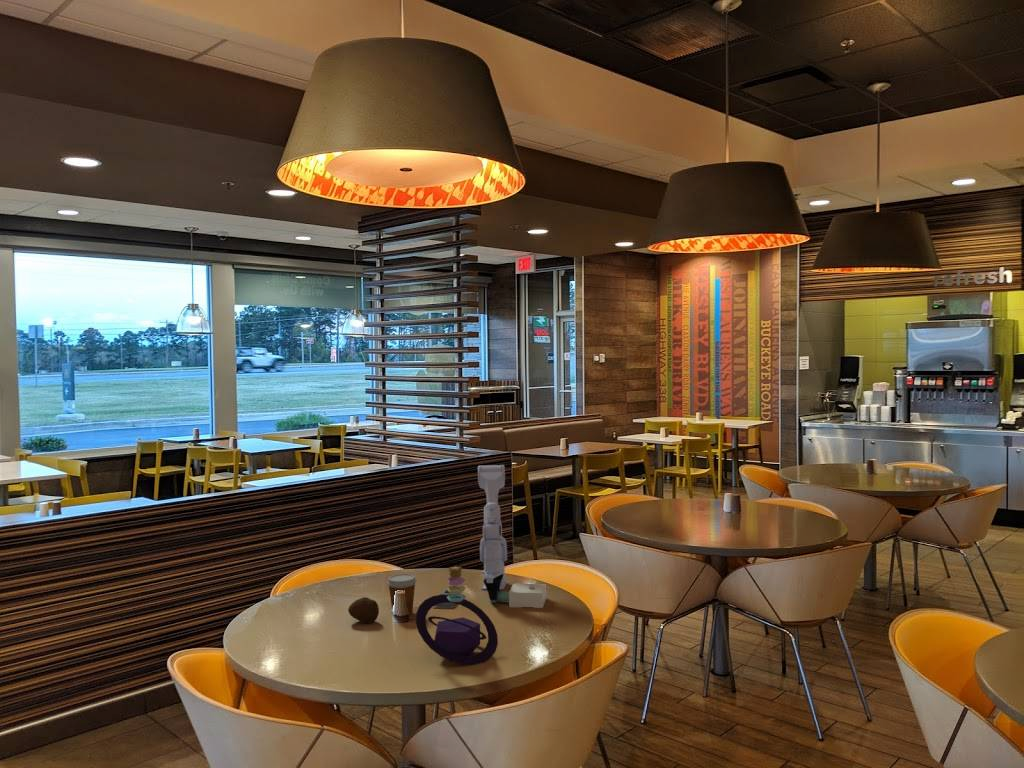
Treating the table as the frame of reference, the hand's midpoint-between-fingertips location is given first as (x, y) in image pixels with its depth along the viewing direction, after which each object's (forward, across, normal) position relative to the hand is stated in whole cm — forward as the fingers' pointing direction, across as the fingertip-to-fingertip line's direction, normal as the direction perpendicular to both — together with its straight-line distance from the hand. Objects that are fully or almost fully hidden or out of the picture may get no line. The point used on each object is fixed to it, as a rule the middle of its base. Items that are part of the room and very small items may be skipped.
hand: (494, 597), depth 270 cm
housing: (+1, 0, +11) cm, 11 cm away
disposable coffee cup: (+2, +14, -28) cm, 31 cm away
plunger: (+1, -3, -16) cm, 16 cm away
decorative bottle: (+2, +47, -2) cm, 47 cm away
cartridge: (+1, 0, +7) cm, 7 cm away
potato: (+2, +23, -38) cm, 44 cm away
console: (+1, 0, -16) cm, 16 cm away
